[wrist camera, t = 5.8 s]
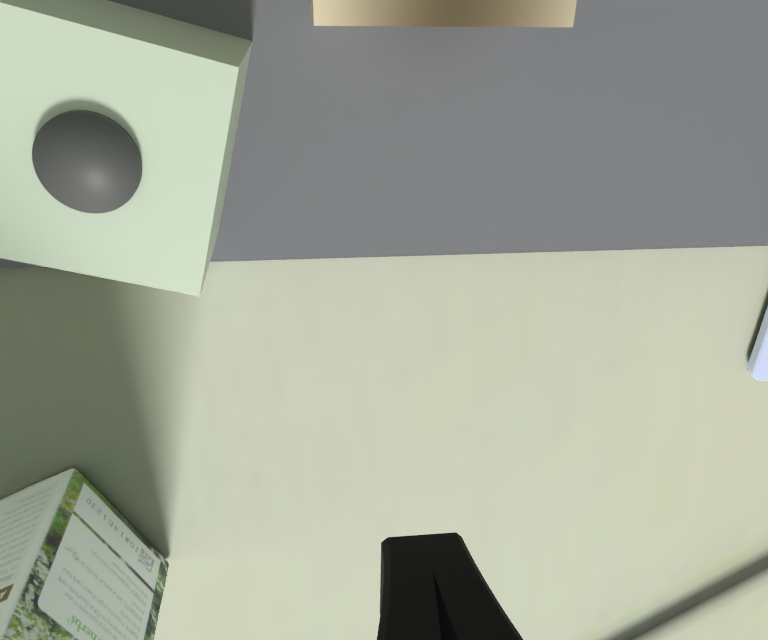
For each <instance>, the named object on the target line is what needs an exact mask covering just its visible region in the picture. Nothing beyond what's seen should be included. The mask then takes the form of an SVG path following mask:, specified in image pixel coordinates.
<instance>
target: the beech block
mask: <svg viewBox="0 0 768 640" xmlns="http://www.w3.org/2000/svg"><path fill="white" fill-rule="evenodd" d="M576 3H577V0H311V10H312V17H313V23H314V26H422V27H573V24H574V17H575V10H576Z"/></svg>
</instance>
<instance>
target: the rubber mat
mask: <svg viewBox="0 0 768 640" xmlns="http://www.w3.org/2000/svg"><path fill="white" fill-rule="evenodd" d="M109 1H112V2H116V3H119V4H123V5H126V6H130V7H133V8H137V9H141V10H144V11H148V12H151V13H155V14H158V15H162V16H165V17H169V18H172V19H176V20H179V21H183V22H187V23H190V24H194V25H197V26H201V27H204V28H208V29H211V30H215V31H218V32H222V33H225V34H229V35H233V36H236V37H240V38H243V39H247V40H250V41H253V42H252V47H251V53H250V58H249V64H248V70H247V75H246V81H245V87H244V92H243V98H242V104H241V109H240V115H239V120H238V126H237V132H236V137H235V143H234V149H233V154H232V160H231V165H230V171H229V177H228V182H227V188H226V194H225V199H224V205H223V211H222V216H221V222H220V227H219V232H218V235H217V239H216V242H215V246H214V249H213V252H212V256H211V259H210V262H215V261H250V260H285V259H319V258H354V257H388V256H423V255H458V254H492V253H527V252H562V251H596V250H631V249H666V248H700V247H735V246H768V0H577V3H576V10H575V17H574V24H573V27H422V26H314V23H313V17H312V10H311V0H109ZM7 267H42V266H39V265H34V264H29V263H23V262H18V261H13V260H8V259H3V258H0V268H7Z"/></svg>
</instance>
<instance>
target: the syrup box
mask: <svg viewBox="0 0 768 640" xmlns="http://www.w3.org/2000/svg"><path fill="white" fill-rule="evenodd" d="M168 565H169V564H168V562H167V561H166V560H165V559H164V558H163V557H162V556H161V555H160V553H159V552H158V551H157V550H156V549H155V548H154V547H153V546H152V545H151V544H149V543H148V542H147V541H146V540H145V538H144V537H143V536H142V535H141V534H140V533H139V532H138V531H137V530H136V529H135V528H134V527H133V526H132V525H131V524H130V523H129V522H128V521H127V520H126V519H125V518H124V517H123V516H122V515H121V514H120V513H119V512H118V511H117V510H116V509H115V508H114V507H113V506H112V505H111V504H110V503H109V502H108V501H107V500H106V498H105V497H104V496H103V495H102V494H101V493H100V492H99V491H98V490H97V489H96V488H95V487H94V486H93V485H92V484H91V483H90V482H89V481H88V480H87V479H86V478H85V477H84V476H83V475H82V474H81V473H80V472H79V471H78V470H77V469H73V468H72V469H69V470H66V471H64V472H62V473H59V474H57V475H55V476H52V477H50V478H48V479H45V480H43V481H40V482H38V483H36V484H34V485H32V486H29V487H27V488H25V489H23V490H21V491H19V492H17V493H14V494H12V495H10V496H8V497H6V498H4V499H2V500H0V640H154V635H155V630H156V626H157V620H158V614H159V609H160V604H161V600H162V596H163V591H164V587H165V581H166V576H167V571H168Z"/></svg>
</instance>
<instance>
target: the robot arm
mask: <svg viewBox="0 0 768 640" xmlns="http://www.w3.org/2000/svg"><path fill="white" fill-rule="evenodd" d="M747 370H748V372H749V374H750V375H751V376H752V377H754V378H755V379H756V380H758V381H768V307H767V310H766V313H765V316H764V319H763V322H762V324H761V327H760V330H759V333H758V336H757V339H756V342H755V345H754V348H753V351H752V354H751V357H750V360H749V363H748V368H747ZM377 640H523V639H522V637H521V636H520V634H519V633H518V631H517V630H516V628H515V627H514V625H513V624H512V622H511V621H510V619H509V618H508V616H507V615H506V613H505V612H504V610H503V609H502V607H501V606H500V604H499V602H498V601H497V599H496V598H495V596H494V594H493V593H492V591H491V589H490V588H489V586H488V584H487V583H486V581H485V580H484V578H483V576H482V574H481V573H480V571H479V569H478V567H477V566H476V564H475V562H474V560H473V558H472V556H471V555H470V553H469V551H468V549H467V547H466V545H465V543H464V541H463V539H462V537H461V536H460V535H458V534H457V533H443V534H429V535H416V536H402V537H388V538H387V539H385V540H384V541H383V542H382V543H381V590H380V623H379V630H378V636H377Z"/></svg>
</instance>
